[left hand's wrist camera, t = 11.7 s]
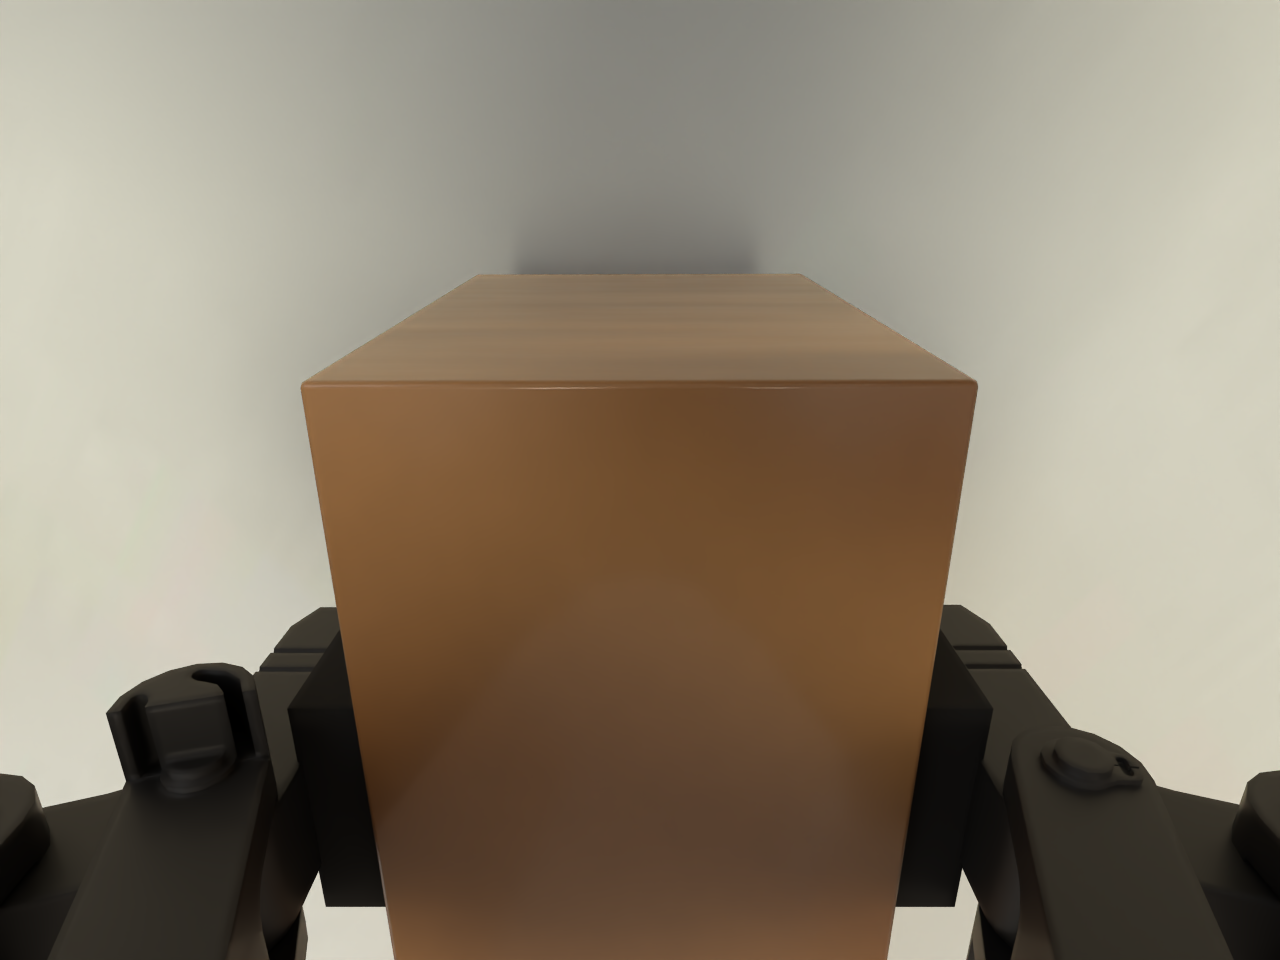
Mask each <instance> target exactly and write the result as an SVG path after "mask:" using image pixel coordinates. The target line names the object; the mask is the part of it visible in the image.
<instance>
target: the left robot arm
mask: <svg viewBox="0 0 1280 960" xmlns="http://www.w3.org/2000/svg"><path fill="white" fill-rule="evenodd" d="M106 715H107V719H108V722H109V725H110V729H111V732H112V735H113V739H114V742H115V746H116V749H117V752H118V756H119V759H120V762H121V766H122V769H123V772H124V776H125V779H126V783H125V785H124V787H123V790H119V791H116V792H112V793H109V794H104V795H100V796H95V797H91V798H86V799H81V800H77V801H72V802H68V803H63V804H58V805H54V806H49V807H45V808H42V806H41V803H40V800H39V797H38V794H37V792H36V789H35V786H34V785H33V784H32V783H30V782H29V781H28V780H26V779H25V778H24V777H23V776H16V775H8V774H0V960H305V959H306V950H307V942H308V935H307V928H306V921H305V916H304V912H303V907H302V906H303V903H304V901H305V899H306V897H307V895H308V893H309V890H310V888H311V886H312V884H313V882H314V880H315V878H316V875H317V873H318V871H319V874H320V879H321V884H322V889H323V894H324V899H325V905H326V907H386V905H385V899H384V893H383V887H382V881H381V875H380V869H379V862H378V856H377V850H376V844H375V838H374V832H373V826H372V820H371V814H370V808H369V801H368V795H367V789H366V783H365V777H364V771H363V765H362V759H361V753H360V747H359V741H358V734H357V728H356V722H355V716H354V710H353V704H352V698H351V692H350V686H349V680H348V674H347V667H346V661H345V655H344V649H343V643H342V637H341V631H340V625H339V619H338V613H337V607H320V608H319V609H317V610H316V611H314V612H312V613H311V614H309V615H308V616H306V617H305V618H303V619H302V620H300V621H299V622H297V623H296V624H294V625H293V626H291V627H290V629H289V630H288V631H287V633H286V634H285V635H284V636H283V638H282V639H281V640H280V642H279V643H278V644H277V645H276V647H275V648H274V653H270V654H269V656H268V657H267V658H266V660H265V661H264V662H263V663H262V665H261V666H260V670H259V672H255V674H254V675H252V674H250V673H249V672H248V671H247V670H245V669H244V668H243V667H240V666H236V665H231V664H226V663H207V664H195V665H191V666H187V667H182V668H178V669H174V670H170V671H167V672H165V673H163V674H160V675H158V676H155V677H153V678H151V679H148V680H146V681H144V682H142V683H140V684H139V685H137V686H136V687H134V688H133V689H131V690H130V691H128V692H127V693H125V694H124V695H122V696H121V697H119V699H118V700H117V701H116V702H115V703H114V704H113V706H112V707H111V708H110V709H109V710H108V711H107V713H106ZM962 868H963V870H964V872H965V875H966V877H967V879H968V881H969V883H970V885H971V887H972V890H973V892H974V894H975V896H976V898H977V900H978V907H977V912H976V916H975V921H974V926H973V931H972V935H971V940H970V945H969V949H968V954H967V959H966V960H1280V770H1279V771H1271V772H1263V773H1259V774H1258V775H1256V776H1255V777H1254V778H1252V779H1251V780H1250V781H1249V782H1247V785H1246V788H1245V791H1244V794H1243V796H1242V799H1241V802H1240V805H1238V804H1233V803H1229V802H1224V801H1220V800H1215V799H1210V798H1206V797H1201V796H1196V795H1192V794H1187V793H1183V792H1178V791H1174V790H1170V789H1166V788H1163V787H1159V786H1156V784H1155V781H1154V780H1153V778H1152V777H1151V776H1150V774H1149V773H1148V771H1147V770H1146V769H1145V767H1144V766H1143V765H1142V763H1141V762H1140V761H1138V760H1137V759H1136V758H1134V757H1133V756H1132V755H1130V754H1129V753H1128V752H1127V751H1125V750H1124V749H1123V748H1121V747H1120V746H1118V745H1116V744H1114V743H1112V742H1110V741H1108V740H1106V739H1103V738H1101V737H1099V736H1097V735H1095V734H1092V733H1088V732H1085V731H1081V730H1077V729H1074V728H1071V727H1070V726H1069V724H1068V723H1067V722H1066V721H1065V719H1064V718H1063V717H1062V715H1061V714H1060V713H1059V712H1058V710H1057V709H1056V708H1055V706H1054V705H1053V704H1052V703H1051V701H1050V700H1049V699H1048V698H1047V696H1046V695H1045V694H1044V692H1043V691H1042V690H1041V689H1040V687H1039V686H1038V685H1037V684H1036V682H1035V681H1034V680H1033V678H1032V677H1031V676H1030V675H1029V673H1028V672H1027V671H1026V670H1025V669H1022V667H1021V663H1020V662H1019V661H1018V659H1017V658H1016V657H1015V655H1014V654H1013V653H1012V652H1011V650H1007V645H1006V644H1005V643H1004V641H1003V640H1002V639H1001V638H1000V636H999V635H998V634H997V633H996V631H995V630H994V629H993V627H992V626H991V625H990V624H989V623H988V622H986V621H985V620H983V619H981V618H980V617H978V616H977V615H975V614H974V613H972V612H971V611H969V610H968V609H966V608H965V607H963V606H961V605H943V610H942V616H941V623H940V629H939V635H938V642H937V648H936V654H935V661H934V667H933V673H932V679H931V686H930V692H929V698H928V705H927V711H926V717H925V723H924V730H923V736H922V742H921V749H920V755H919V761H918V768H917V774H916V780H915V786H914V793H913V799H912V805H911V812H910V818H909V824H908V830H907V837H906V843H905V849H904V856H903V862H902V868H901V874H900V881H899V887H898V893H897V900H896V906H895V907H955V902H956V897H957V892H958V887H959V882H960V877H961V872H962Z"/></svg>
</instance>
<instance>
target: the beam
mask: <svg viewBox="0 0 1280 960" xmlns="http://www.w3.org/2000/svg"><path fill="white" fill-rule="evenodd" d="M977 390H978V384H977V381H976V380H974V379H972V378H971V377H969V376H967V375H966V374H964V373H962V372H961V371H959V370H958V369H956V368H954V367H953V366H951V365H949V364H948V363H946V362H944V361H943V360H941V359H940V358H938V357H936V356H935V355H933V354H931V353H930V352H928V351H926V350H925V349H923V348H921V347H920V346H918V345H917V344H915V343H913V342H912V341H910V340H908V339H907V338H905V337H903V336H902V335H900V334H899V333H897V332H895V331H894V330H892V329H890V328H889V327H887V326H885V325H884V324H882V323H880V322H879V321H877V320H876V319H874V318H872V317H871V316H869V315H867V314H866V313H864V312H862V311H861V310H859V309H858V308H856V307H854V306H853V305H851V304H849V303H848V302H846V301H844V300H843V299H841V298H840V297H838V296H836V295H835V294H833V293H831V292H830V291H828V290H826V289H825V288H823V287H821V286H820V285H818V284H817V283H815V282H813V281H812V280H810V279H808V278H807V277H805V276H803V275H802V274H523V275H477V276H475V277H473V278H472V279H470V280H468V281H467V282H465V283H463V284H462V285H460V286H459V287H457V288H455V289H454V290H452V291H450V292H449V293H447V294H446V295H444V296H442V297H441V298H439V299H437V300H436V301H434V302H433V303H431V304H429V305H428V306H426V307H424V308H423V309H421V310H419V311H418V312H416V313H415V314H413V315H411V316H410V317H408V318H406V319H405V320H403V321H402V322H400V323H398V324H397V325H395V326H393V327H392V328H390V329H389V330H387V331H385V332H384V333H382V334H380V335H379V336H377V337H376V338H374V339H372V340H371V341H369V342H367V343H366V344H364V345H363V346H361V347H359V348H358V349H356V350H354V351H353V352H351V353H350V354H348V355H346V356H345V357H343V358H341V359H340V360H338V361H337V362H335V363H333V364H332V365H330V366H328V367H327V368H325V369H324V370H322V371H320V372H319V373H317V374H315V375H314V376H312V377H311V378H309V379H307V380H306V381H304V382H302V385H301V393H302V399H303V405H304V412H305V418H306V424H307V430H308V436H309V442H310V448H311V454H312V460H313V466H314V472H315V479H316V485H317V491H318V497H319V503H320V509H321V515H322V521H323V527H324V533H325V539H326V546H327V552H328V558H329V564H330V570H331V576H332V582H333V588H334V594H335V600H336V607H337V613H338V619H339V625H340V631H341V637H342V643H343V649H344V655H345V661H346V667H347V674H348V680H349V686H350V692H351V698H352V704H353V710H354V716H355V722H356V728H357V734H358V741H359V747H360V753H361V759H362V765H363V771H364V777H365V783H366V789H367V795H368V801H369V808H370V814H371V820H372V826H373V832H374V838H375V844H376V850H377V856H378V862H379V869H380V875H381V881H382V887H383V893H384V899H385V905H386V911H387V917H388V923H389V929H390V936H391V942H392V948H393V954H394V960H887V956H888V950H889V944H890V937H891V931H892V925H893V919H894V912H895V906H896V900H897V893H898V887H899V881H900V874H901V868H902V862H903V856H904V849H905V843H906V837H907V830H908V824H909V818H910V812H911V805H912V799H913V793H914V786H915V780H916V774H917V768H918V761H919V755H920V749H921V742H922V736H923V730H924V723H925V717H926V711H927V705H928V698H929V692H930V686H931V679H932V673H933V667H934V661H935V654H936V648H937V642H938V635H939V629H940V623H941V616H942V610H943V604H944V598H945V591H946V585H947V579H948V572H949V566H950V560H951V554H952V547H953V541H954V535H955V528H956V522H957V516H958V510H959V503H960V497H961V491H962V484H963V478H964V472H965V465H966V459H967V453H968V447H969V440H970V434H971V428H972V421H973V415H974V409H975V403H976V396H977Z"/></svg>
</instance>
